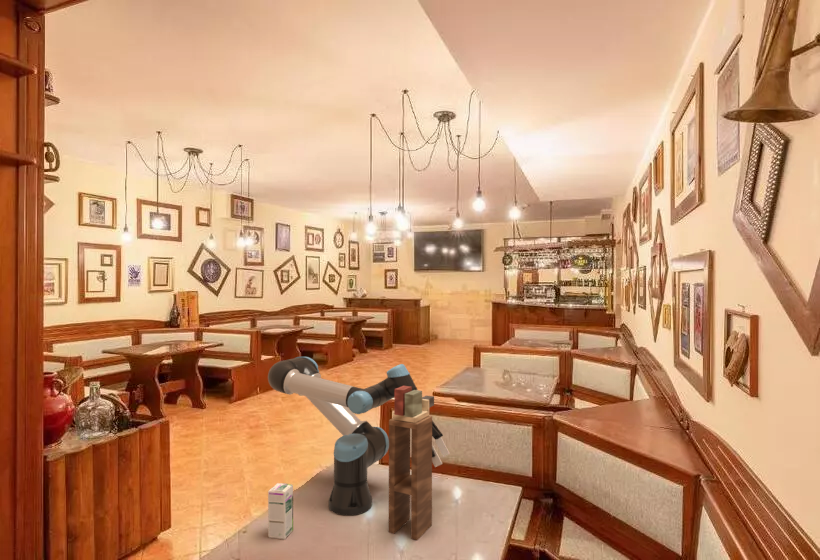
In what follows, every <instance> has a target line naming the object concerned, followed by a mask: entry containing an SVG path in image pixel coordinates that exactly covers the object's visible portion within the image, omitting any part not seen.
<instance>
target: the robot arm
mask: <svg viewBox="0 0 820 560" xmlns="http://www.w3.org/2000/svg"><path fill="white" fill-rule="evenodd" d="M386 376H387V377H386V378H384V379H383V380H382V381H379V382H377V383H376V384H373V385H370V386H367V387H364V388H363V387H362V388H361V387H358V386H355V385H354V386H353V385H349V384H345V383H342V382H337V381H333V380H330V379H324V378H322V374H321V373H320V370H319V365H318V363H317V362H316V361H315V360H314V359H313V358H311V357H309V356H297V357H294V358H290V359H286V360H285V359H284V360H279V361H277V362H276V363H274V364H273V365H272V366H271V367H270V368H269V371H268V374H267V381H268V384H269V386H270V387H271V388H272V389H273V390H275V391H276V392H279V393H281V394H286V395H290V396H291V395H293V394H297V395H298V396H302V397H303V396H304V397H305V398H307V400H309V401H310V403H311V404H312V405H313V406H314V407H315V408H316V409H317V410H318V411H319V412H320V413H321V414H322V415H323V416H324V418H326V419H327V421H328V422H329V423H330V424H331V425H332V426H333V428H335V429H336V430H337V431H338V432H339V433H340V434H341V435H342V436H340V437H339V438H337V440H335V443H334V448H333V449H334V450H333V487H332V488H331V493H330V495H329V498H328V509H329V511H330V512H332V513H334V514H336V515H338V516H339V515H340V516H356V515H360V514H363V513H366V512H368V511H369V510H370V509H371V508H372V507H373V496H372V494H371V490H370V487H369V484H368V468H369V467H371V466H373V465H374V464H375V463H377V462H378V461H381V460H382V459H383V458H384V456H386V454H388V452H389V435H388V434H387V432H386V431H385V430H384V429H383V428H382V427H379V426H373V425H372V424H371V423H369V422H368V421H367V420H361V419H360V418H359V417H358V416H357V415H361V414H365V413H367V412H369V411H371V410H373V409H375V408H378V407H380V406H383V405H384V404H385V403H387V402H388V401H390V400H392V399H395V389H396V388H399V387H402V386H411V387H412V391H413V390H418V388H417V385H416V384H415V382H414V380H413V377H412V375H411V374H410V371H408V369H407V367H406V365H405V364H403V363H399V364H398V365H395V366H394V367H391V368H390V369H388V370H387V371H386ZM443 436H444V435H443V433H442V431H441V430H440V428H438V427H437V425H436V423H435V422H434V421H433V420H432V439H434V442H435V445H436V446H437V449H438V451H439V452H440V454H441V456H442V457H443V458H445V457H447V456H449V455H450V454H451V453H450V451H449V449H448V447H447V445H446V443H445V441H444V439H443ZM438 451H437V450H436V449H435V446H434V445H432V465H433V466H434V468H436V467H439V466H441V465H443V462H442V460H441V458H440V455H439V454H438Z"/></svg>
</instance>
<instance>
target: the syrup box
mask: <svg viewBox="0 0 820 560" xmlns="http://www.w3.org/2000/svg"><path fill="white" fill-rule="evenodd" d="M267 514H268V516H267V517H268V518H267V520H268V521H267V525H268V526H267V529H268V531H267V536H268V538H270V539H271V538H272V539H278V540H286V539H287V537H288V536H289V535H290V534H291V533H292V532H293V531H294V484H292V483H286V482H285V483H282V482H280V483H279V482H277V483H276V484H275V485H274V486H272V487H271V488H270V489H269V490H268V491H267Z"/></svg>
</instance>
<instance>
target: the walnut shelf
mask: <svg viewBox="0 0 820 560" xmlns="http://www.w3.org/2000/svg"><path fill="white" fill-rule="evenodd" d="M432 421H433V416H432V415H429V416H427V417H425V418H423V419H422V420H420V421H418V422H416V423H412V422H406V421H399V420H393V417H392V418H390V419H389V420H388V439H389V448H388V533H389V534H393V535H394V534H396V533H397V532H398V531H399V530H400V529H401V528H402V527H403V526H405V525H406V524H407V523H408V522H409V521H410V529H411V530H410V539H411V540H413V541H418V540H419V539H420V538H421V537H422V536H423V535H424V534H425V533H426V532H427V531H428V530H429V529H430V528H431V527H432V526H433V462H432V446H433V436H432ZM405 523H406V524H405Z"/></svg>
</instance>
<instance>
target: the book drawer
mask: <svg viewBox="0 0 820 560" xmlns="http://www.w3.org/2000/svg"><path fill="white" fill-rule="evenodd" d="M393 403H394V410H393V411H394V413H393V414H392V418H393V420H399V421H406V422H412V423H416V422H418V421H420V420H422V419H423V418H425V417H427V416H430V408H431V407H433V406H435V396H434V395H425V396H423V390H419V389H417V390H413V391H412V387H411V386H402V387H399V388H396V389H395V397H394V402H393Z"/></svg>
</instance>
